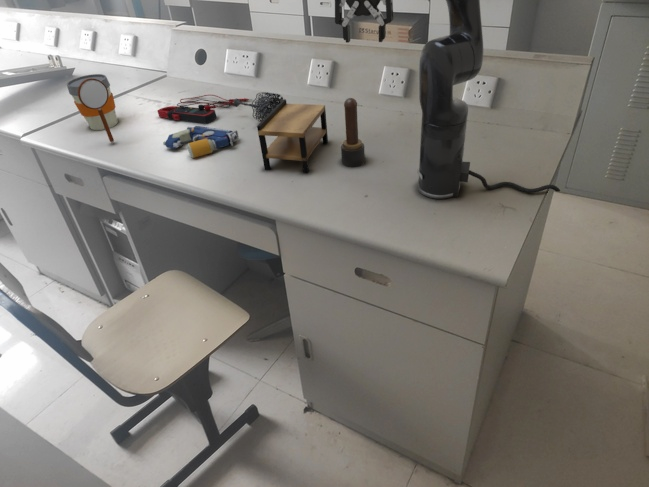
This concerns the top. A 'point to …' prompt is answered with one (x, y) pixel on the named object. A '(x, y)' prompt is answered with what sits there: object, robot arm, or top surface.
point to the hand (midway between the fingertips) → (364, 41)
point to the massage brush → (262, 104)
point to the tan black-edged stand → (292, 132)
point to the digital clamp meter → (194, 111)
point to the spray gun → (201, 139)
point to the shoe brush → (352, 137)
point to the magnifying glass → (95, 99)
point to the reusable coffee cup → (93, 114)
